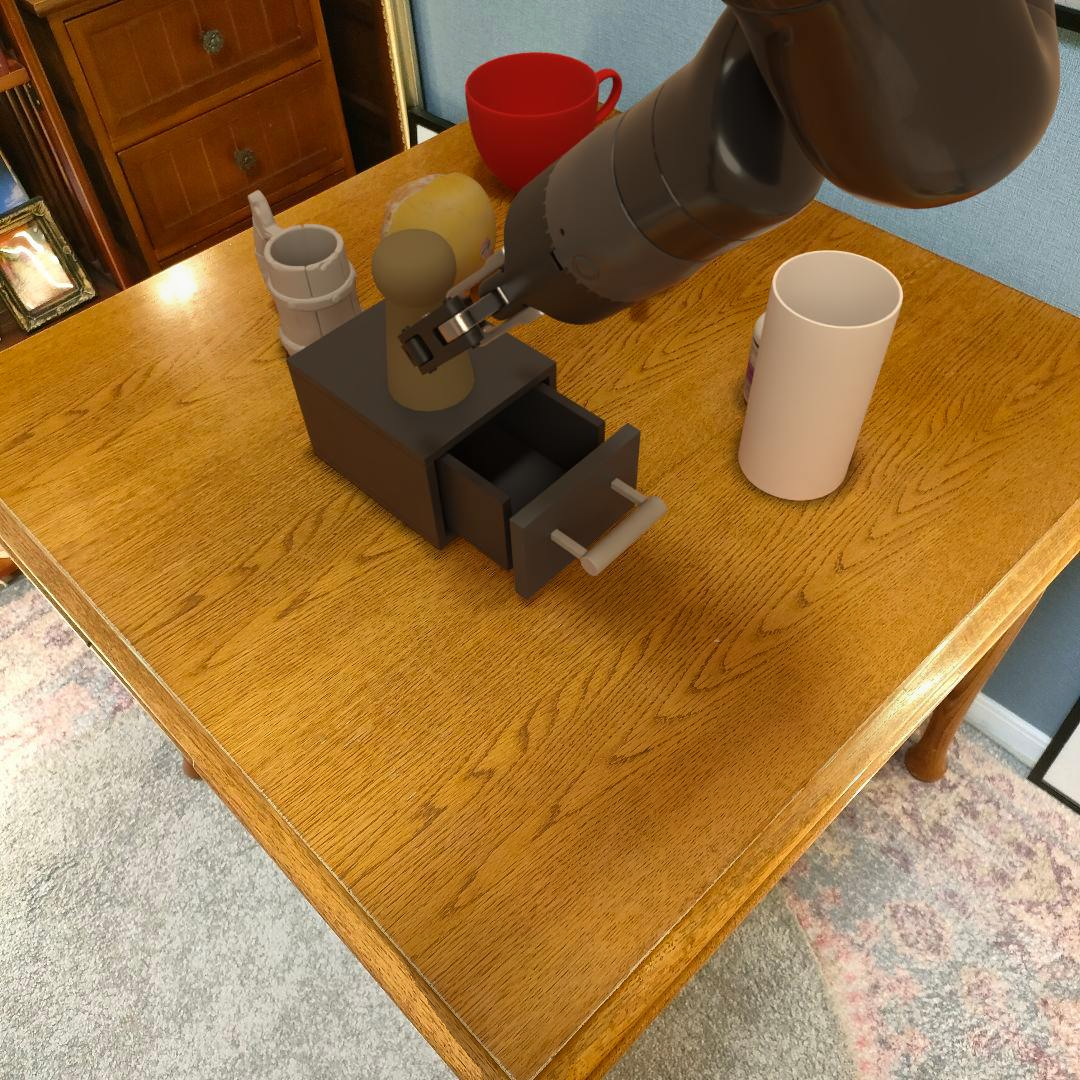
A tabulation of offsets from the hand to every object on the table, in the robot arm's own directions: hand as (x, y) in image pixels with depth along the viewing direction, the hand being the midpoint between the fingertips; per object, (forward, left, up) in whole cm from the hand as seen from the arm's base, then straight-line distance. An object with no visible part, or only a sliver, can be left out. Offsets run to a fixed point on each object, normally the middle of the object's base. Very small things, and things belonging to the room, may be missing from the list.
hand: (466, 317), depth 58 cm
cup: (+19, -14, -18) cm, 30 cm away
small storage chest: (+1, +7, -17) cm, 19 cm away
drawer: (+1, -4, -17) cm, 17 cm away
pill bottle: (+24, -9, -18) cm, 31 cm away
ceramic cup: (+37, +28, -18) cm, 50 cm away
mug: (+4, +26, -18) cm, 32 cm away
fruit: (+17, +23, -18) cm, 33 cm away
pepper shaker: (0, +5, -8) cm, 9 cm away
